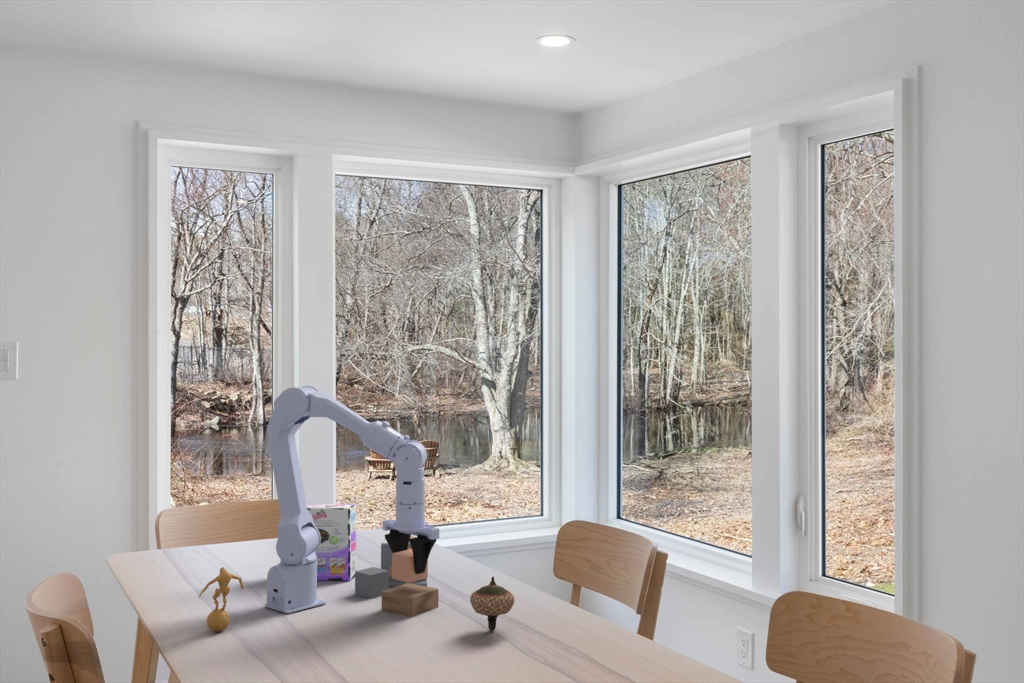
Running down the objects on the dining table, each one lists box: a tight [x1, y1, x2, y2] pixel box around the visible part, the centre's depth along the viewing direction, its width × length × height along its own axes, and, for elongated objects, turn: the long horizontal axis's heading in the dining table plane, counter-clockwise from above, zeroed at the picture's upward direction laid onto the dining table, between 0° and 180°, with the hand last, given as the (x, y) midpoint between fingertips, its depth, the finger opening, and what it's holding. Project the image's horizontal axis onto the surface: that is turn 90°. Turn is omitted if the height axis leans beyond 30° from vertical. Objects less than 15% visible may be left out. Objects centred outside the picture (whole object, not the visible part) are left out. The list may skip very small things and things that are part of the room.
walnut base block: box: [381, 583, 439, 618], centre depth 178 cm, size 8×8×4 cm
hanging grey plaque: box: [380, 542, 428, 589], centre depth 197 cm, size 6×10×9 cm, turn 97°
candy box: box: [306, 503, 357, 581], centre depth 203 cm, size 14×6×16 cm, turn 84°
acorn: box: [469, 576, 515, 632], centre depth 164 cm, size 8×8×10 cm
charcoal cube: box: [354, 566, 390, 600], centre depth 189 cm, size 5×5×5 cm
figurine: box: [198, 567, 244, 633], centre depth 163 cm, size 8×6×12 cm
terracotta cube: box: [392, 549, 429, 583], centre depth 178 cm, size 5×5×5 cm
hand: (410, 570), depth 178 cm, fingers closed on terracotta cube, 5 cm apart
